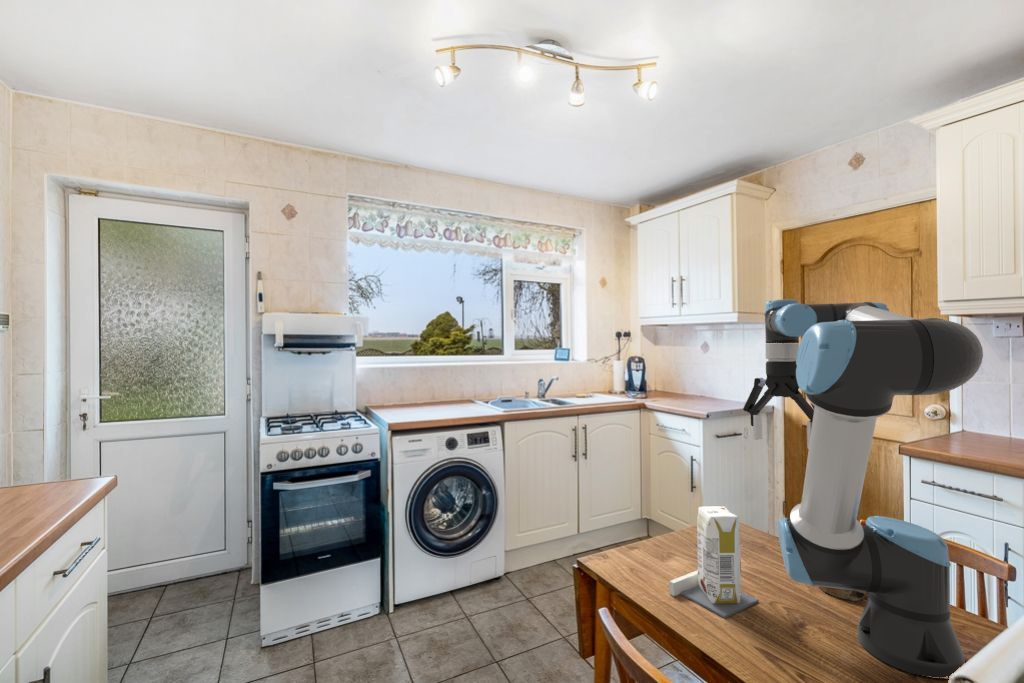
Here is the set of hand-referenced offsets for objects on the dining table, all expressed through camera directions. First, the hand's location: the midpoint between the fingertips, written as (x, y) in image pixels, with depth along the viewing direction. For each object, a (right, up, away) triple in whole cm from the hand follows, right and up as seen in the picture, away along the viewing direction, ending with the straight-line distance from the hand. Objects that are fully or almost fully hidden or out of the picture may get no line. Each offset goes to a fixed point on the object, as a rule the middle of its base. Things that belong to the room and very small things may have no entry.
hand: (783, 443), depth 120 cm
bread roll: (+7, -32, -11) cm, 34 cm away
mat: (-23, -32, -14) cm, 42 cm away
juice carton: (-23, -31, -14) cm, 41 cm away
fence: (-26, -32, -9) cm, 42 cm away
